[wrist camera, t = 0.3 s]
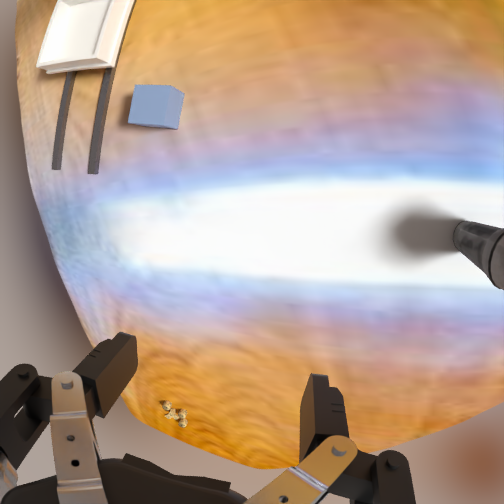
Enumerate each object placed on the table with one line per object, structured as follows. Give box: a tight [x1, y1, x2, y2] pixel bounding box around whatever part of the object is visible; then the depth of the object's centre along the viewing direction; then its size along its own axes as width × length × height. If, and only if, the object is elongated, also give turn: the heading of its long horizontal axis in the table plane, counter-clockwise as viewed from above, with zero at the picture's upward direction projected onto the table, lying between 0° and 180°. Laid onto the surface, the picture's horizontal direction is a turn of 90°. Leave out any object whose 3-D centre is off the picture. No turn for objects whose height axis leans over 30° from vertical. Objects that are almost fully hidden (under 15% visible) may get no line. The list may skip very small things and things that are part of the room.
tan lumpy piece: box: [162, 401, 187, 427], centre depth 52 cm, size 5×5×2 cm
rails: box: [52, 0, 136, 174], centre depth 36 cm, size 30×9×1 cm, turn 170°
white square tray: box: [36, 0, 134, 74], centre depth 31 cm, size 13×13×6 cm
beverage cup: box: [453, 221, 504, 290], centre depth 27 cm, size 7×7×20 cm
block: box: [128, 85, 184, 129], centre depth 35 cm, size 5×5×5 cm
